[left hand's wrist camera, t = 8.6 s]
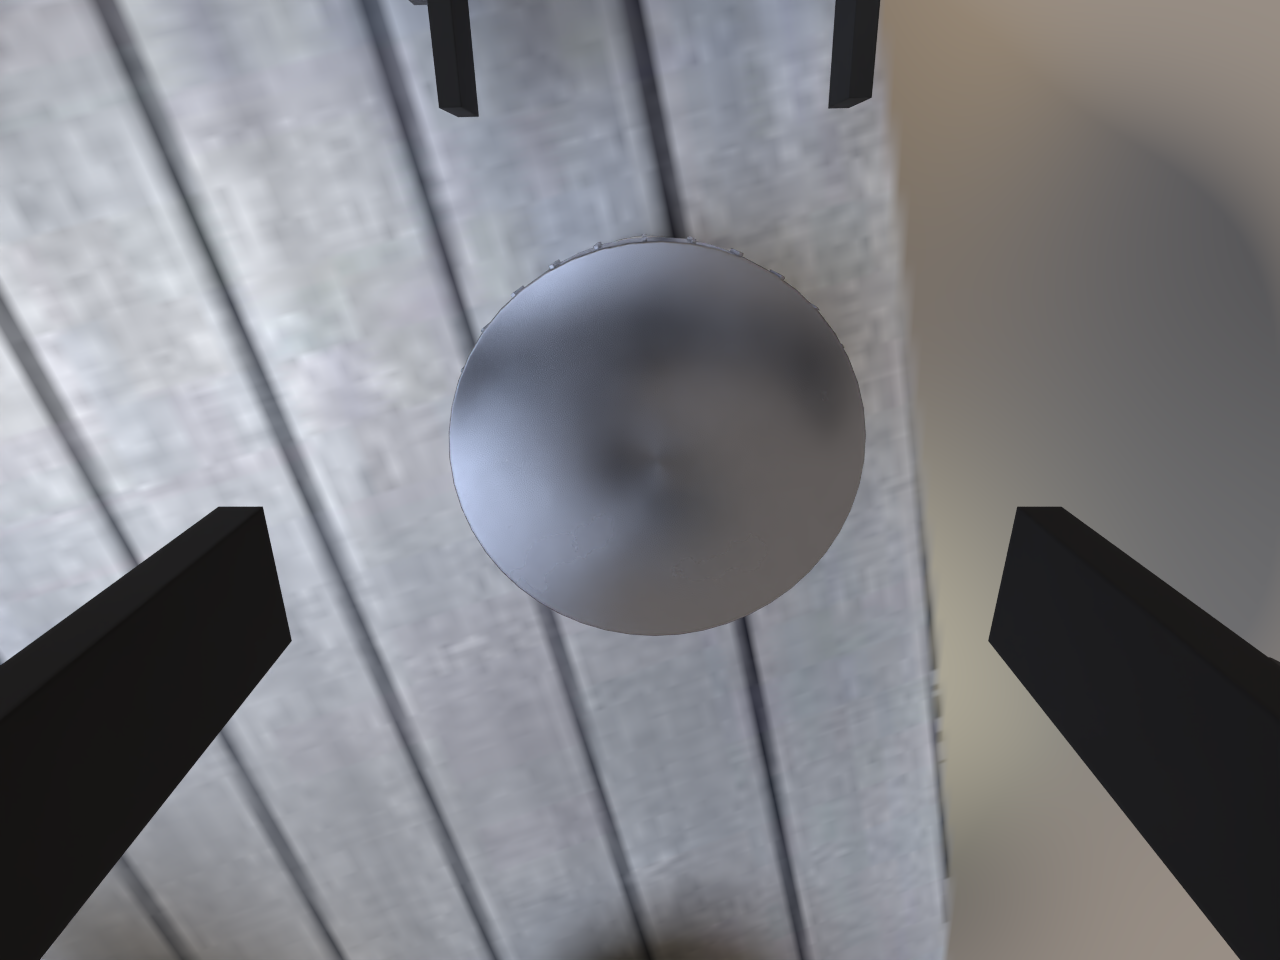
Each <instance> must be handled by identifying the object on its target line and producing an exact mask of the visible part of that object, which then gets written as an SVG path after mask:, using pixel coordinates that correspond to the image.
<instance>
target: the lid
mask: <svg viewBox="0 0 1280 960" xmlns="http://www.w3.org/2000/svg"><path fill="white" fill-rule="evenodd" d="M742 256H743V253H741V252H739V251H737V250H735V249H733V248H731V250H730V251H728V250H725V249H722V248H720V247H717V246H714V245H712V244H707V243H702V242H698V241H696V239H694V238H693V237H691V236H688V237H687V239H681V238H668V237H647V236H646V234H642V238H631V239H626V240H621V241H616V242H611V243H606V244H603V245H602V244H601V242H598V243H597V244H596V245H595V246H594V248H591V249H589V250H586V251H583V252H580V253H578V254H576V255H574V256H572V257H570V258H568V259H566V260H564V261H562V262H560V260H557V261H555V262H554V263H553V264H551V265H550V266H549V268H550V269H549V270H548V271H546V272H545V273H543V274H542V275H541V276H539V277H538V278H536V279H535V280H534V281H532V282H531V283H530V284H528V285H527V286H526V287H524V286H522V287H520V288H519V289H518V290H516V291H515V292H513V293H512V294H511V296H512V297H513V298H512V299H511V300H510V301H509V302H508V303H507V304H506V305H505V306H504V307H503V308H502V309H501V310H500V311H499V312H498V313H497V315H496V316H495V317H494V318H493V320H492V321H491V322H490V323H489V324H487V325H486V326H485V327H484V328H483V329H482V330H481V332H482V334H481V336H480V337H479V339H478V341H477V342H476V344H475V346H474V348H473V349H472V351H471V353H470V354H469V356H468V359H467V361H466V364H465V366H464V367H463V368H462V370H461V372H462V373H461V376H460V378H459V380H458V384H457V388H456V392H455V396H454V400H453V404H452V409H451V418H450V427H449V453H450V464H451V469H452V475H453V481H454V486H455V489H456V492H457V495H458V498H459V502H460V505H461V508H462V510H463V512H464V514H465V517H466V519H467V521H468V523H469V525H470V527H471V529H472V531H473V533H474V534H475V536H476V538H477V539H478V541H479V542H480V544H481V546H482V547H483V549H484V550H485V552H486V553H487V554H488V555H489V557H490V558H491V559H492V560H493V561H494V563H495V564H496V565H497V566H498V567H499V569H500V570H501V571H502V572H503V573H504V574H505V575H506V576H507V577H508V578H510V579H511V580H512V581H513V582H514V583H515V584H516V585H517V586H518V587H519V588H521V589H522V590H523V591H525V592H526V593H527V594H529V595H530V596H531V597H533V598H534V599H536V600H537V601H538V602H540V603H542V604H543V605H545V606H547V607H549V608H550V609H552V610H554V611H556V612H558V613H559V614H561V615H564V616H566V617H569V618H571V619H573V620H576V621H578V622H581V623H583V624H587V625H590V626H593V627H597V628H600V629H604V630H608V631H614V632H620V633H625V634H633V635H651V636H659V635H678V634H685V633H691V632H697V631H703V630H706V629H710V628H713V627H717V626H721V625H724V624H727V623H730V622H732V621H735V620H737V619H740V618H742V617H744V616H747V615H749V614H751V613H753V612H755V611H757V610H758V609H760V608H762V607H764V606H766V605H768V604H769V603H771V602H773V601H774V600H775V599H777V598H778V597H780V596H781V595H782V594H784V593H785V592H787V591H788V590H789V589H791V588H792V587H793V586H794V585H795V584H796V583H798V582H799V581H800V580H801V579H802V578H803V577H804V576H805V575H806V574H807V573H809V572H810V570H811V569H812V568H813V567H814V566H815V565H816V564H817V562H818V561H819V560H820V559H821V558H822V557H823V555H824V554H825V553H826V552H827V550H828V549H829V547H830V546H831V544H832V543H833V541H834V540H835V538H836V537H837V535H838V534H839V532H840V530H841V528H842V526H843V524H844V522H845V520H846V518H847V516H848V514H849V512H850V510H851V507H852V505H853V502H854V499H855V496H856V493H857V490H858V487H859V483H860V478H861V473H862V468H863V463H864V454H865V437H866V432H865V419H864V408H863V403H862V399H861V394H860V390H859V385H858V382H857V379H856V376H855V374H854V371H853V368H852V366H851V363H850V360H849V358H848V356H847V354H846V352H845V350H844V349H843V348H844V347H843V345H842V344H841V343H840V341H839V340H838V338H837V336H836V334H835V333H834V331H833V330H832V329H831V327H830V326H829V325H828V323H827V322H826V321H825V319H824V318H823V317H822V315H821V314H820V313H819V312H818V311H819V309H818V308H817V307H816V306H814V305H813V304H811V303H809V302H808V301H807V300H806V299H805V298H804V297H803V296H802V295H801V294H800V293H799V292H798V291H797V290H796V289H794V288H793V287H792V286H790V285H789V284H788V283H786V282H785V281H784V279H785V277H784V276H782V275H781V274H779V273H777V272H775V271H773V270H770V271H768V270H767V269H765V268H763V267H761V266H759V265H757V264H755V263H754V262H752V261H750V260H748V259H746V258H744V257H742Z"/></svg>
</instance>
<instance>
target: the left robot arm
mask: <svg viewBox="0 0 1280 960" xmlns="http://www.w3.org/2000/svg"><path fill="white" fill-rule="evenodd" d="M291 641H292V640H291V635H290V631H289V626H288V621H287V617H286V612H285V608H284V603H283V598H282V594H281V589H280V584H279V580H278V575H277V571H276V566H275V561H274V557H273V552H272V547H271V543H270V538H269V534H268V529H267V524H266V520H265V515H264V510H263V507H218V508H216V509H215V510H213V511H212V512H211V513H209V514H208V515H207V516H205V517H204V518H202V519H201V520H200V521H198V522H197V523H196V524H194V525H193V526H192V527H190V528H189V529H187V530H186V531H185V532H183V533H182V534H181V535H179V536H178V537H176V538H175V539H174V540H172V541H171V542H170V543H168V544H167V545H165V546H164V547H163V548H161V549H160V550H159V551H157V552H156V553H154V554H153V555H152V556H150V557H149V558H148V559H146V560H145V561H143V562H142V563H141V564H139V565H138V566H137V567H135V568H134V569H132V570H131V571H130V572H128V573H127V574H126V575H124V576H123V577H121V578H120V579H119V580H117V581H116V582H115V583H113V584H112V585H110V586H109V587H108V588H106V589H105V590H104V591H102V592H101V593H99V594H98V595H97V596H95V597H94V598H93V599H91V600H90V601H88V602H87V603H86V604H84V605H83V606H82V607H80V608H79V609H78V610H76V611H75V612H73V613H72V614H71V615H69V616H68V617H67V618H65V619H64V620H62V621H61V622H60V623H58V624H57V625H56V626H54V627H53V628H51V629H50V630H49V631H47V632H46V633H45V634H43V635H42V636H40V637H39V638H38V639H36V640H35V641H34V642H32V643H31V644H29V645H28V646H27V647H25V648H24V649H23V650H21V651H20V652H18V653H17V654H16V655H14V656H13V657H12V658H10V659H9V660H7V661H6V662H5V663H3V664H2V665H0V960H40V959H41V958H42V956H43V955H44V954H45V953H46V951H47V950H48V949H49V947H50V946H51V945H52V944H53V942H54V941H55V940H56V939H57V937H58V936H59V935H60V934H61V932H62V931H63V930H64V928H65V927H66V926H67V925H68V923H69V922H70V921H71V920H72V918H73V917H74V916H75V915H76V913H77V912H78V911H79V909H80V908H81V907H82V906H83V904H84V903H85V902H86V901H87V899H88V898H89V897H90V896H91V894H92V893H93V892H94V890H95V889H96V888H97V887H98V885H99V884H100V883H101V882H102V880H103V879H104V878H105V877H106V875H107V874H108V873H109V872H110V870H111V869H112V868H113V866H114V865H115V864H116V863H117V861H118V860H119V859H120V858H121V856H122V855H123V854H124V853H125V851H126V850H127V849H128V847H129V846H130V845H131V844H132V842H133V841H134V840H135V839H136V837H137V836H138V835H139V834H140V832H141V831H142V830H143V828H144V827H145V826H146V825H147V823H148V822H149V821H150V820H151V818H152V817H153V816H154V815H155V813H156V812H157V811H158V809H159V808H160V807H161V806H162V804H163V803H164V802H165V801H166V799H167V798H168V797H169V796H170V794H171V793H172V792H173V790H174V789H175V788H176V787H177V785H178V784H179V783H180V782H181V780H182V779H183V778H184V777H185V775H186V774H187V773H188V771H189V770H190V769H191V768H192V766H193V765H194V764H195V763H196V761H197V760H198V759H199V758H200V756H201V755H202V754H203V753H204V751H205V750H206V749H207V747H208V746H209V745H210V744H211V742H212V741H213V740H214V739H215V737H216V736H217V735H218V734H219V732H220V731H221V730H222V728H223V727H224V726H225V725H226V723H227V722H228V721H229V720H230V718H231V717H232V716H233V715H234V713H235V712H236V711H237V709H238V708H239V707H240V706H241V704H242V703H243V702H244V701H245V699H246V698H247V697H248V696H249V694H250V693H251V692H252V690H253V689H254V688H255V687H256V685H257V684H258V683H259V682H260V680H261V679H262V678H263V677H264V675H265V674H266V673H267V671H268V670H269V669H270V668H271V666H272V665H273V664H274V663H275V661H276V660H277V659H278V658H279V656H280V655H281V654H282V653H283V651H284V650H285V649H286V647H287V646H288V645H289V644H290V642H291ZM988 641H989V642H990V644H991V645H992V646H993V647H994V649H995V650H996V651H997V652H998V654H999V655H1000V656H1001V658H1002V659H1003V660H1004V661H1005V663H1006V664H1007V665H1008V666H1009V668H1010V669H1011V670H1012V671H1013V673H1014V674H1015V675H1016V677H1017V678H1018V679H1019V680H1020V682H1021V683H1022V684H1023V685H1024V687H1025V688H1026V689H1027V690H1028V692H1029V693H1030V694H1031V696H1032V697H1033V698H1034V699H1035V701H1036V702H1037V703H1038V704H1039V706H1040V707H1041V708H1042V709H1043V711H1044V712H1045V713H1046V715H1047V716H1048V717H1049V718H1050V720H1051V721H1052V722H1053V723H1054V725H1055V726H1056V727H1057V728H1058V730H1059V731H1060V732H1061V734H1062V735H1063V736H1064V737H1065V739H1066V740H1067V741H1068V742H1069V744H1070V745H1071V746H1072V747H1073V749H1074V750H1075V751H1076V753H1077V754H1078V755H1079V756H1080V758H1081V759H1082V760H1083V761H1084V763H1085V764H1086V765H1087V766H1088V768H1089V769H1090V770H1091V771H1092V773H1093V774H1094V775H1095V777H1096V778H1097V779H1098V780H1099V782H1100V783H1101V784H1102V785H1103V787H1104V788H1105V789H1106V790H1107V792H1108V793H1109V794H1110V796H1111V797H1112V798H1113V799H1114V801H1115V802H1116V803H1117V804H1118V806H1119V807H1120V808H1121V809H1122V811H1123V812H1124V813H1125V814H1126V816H1127V817H1128V818H1129V820H1130V821H1131V822H1132V823H1133V825H1134V826H1135V827H1136V828H1137V830H1138V831H1139V832H1140V834H1141V835H1142V836H1143V837H1144V839H1145V840H1146V841H1147V842H1148V844H1149V845H1150V846H1151V847H1152V849H1153V850H1154V851H1155V852H1156V854H1157V855H1158V856H1159V858H1160V859H1161V860H1162V861H1163V863H1164V864H1165V865H1166V866H1167V868H1168V869H1169V870H1170V871H1171V873H1172V874H1173V875H1174V877H1175V878H1176V879H1177V880H1178V882H1179V883H1180V884H1181V885H1182V887H1183V888H1184V889H1185V890H1186V892H1187V893H1188V894H1189V896H1190V897H1191V898H1192V899H1193V901H1194V902H1195V903H1196V904H1197V906H1198V907H1199V908H1200V909H1201V911H1202V912H1203V913H1204V914H1205V916H1206V917H1207V918H1208V920H1209V921H1210V922H1211V923H1212V925H1213V926H1214V927H1215V928H1216V930H1217V931H1218V932H1219V934H1220V935H1221V936H1222V937H1223V939H1224V940H1225V941H1226V942H1227V944H1228V945H1229V946H1230V947H1231V949H1232V950H1233V951H1234V953H1235V954H1236V955H1237V956H1238V958H1239V959H1240V960H1280V662H1279V661H1277V660H1274V659H1272V658H1270V657H1267V656H1266V655H1264V654H1263V653H1262V652H1260V651H1259V650H1257V649H1256V648H1255V647H1253V646H1252V645H1251V644H1249V643H1248V642H1246V641H1245V640H1244V639H1242V638H1241V637H1239V636H1238V635H1237V634H1235V633H1234V632H1233V631H1231V630H1230V629H1229V628H1227V627H1226V626H1224V625H1223V624H1222V623H1220V622H1219V621H1218V620H1216V619H1215V618H1213V617H1212V616H1211V615H1209V614H1208V613H1207V612H1205V611H1204V610H1202V609H1201V608H1200V607H1198V606H1197V605H1196V604H1194V603H1193V602H1191V601H1190V600H1189V599H1187V598H1186V597H1185V596H1183V595H1182V594H1181V593H1179V592H1178V591H1176V590H1175V589H1174V588H1172V587H1171V586H1170V585H1168V584H1167V583H1165V582H1164V581H1163V580H1161V579H1160V578H1159V577H1157V576H1156V575H1154V574H1153V573H1152V572H1150V571H1149V570H1148V569H1146V568H1145V567H1143V566H1142V565H1141V564H1139V563H1138V562H1137V561H1135V560H1134V559H1132V558H1131V557H1130V556H1128V555H1127V554H1126V553H1124V552H1123V551H1121V550H1120V549H1119V548H1117V547H1116V546H1115V545H1113V544H1112V543H1110V542H1109V541H1108V540H1106V539H1105V538H1104V537H1102V536H1101V535H1099V534H1098V533H1097V532H1095V531H1094V530H1093V529H1091V528H1090V527H1088V526H1087V525H1086V524H1084V523H1083V522H1082V521H1080V520H1079V519H1078V518H1076V517H1075V516H1073V515H1072V514H1071V513H1069V512H1068V511H1066V510H1065V509H1064V508H1062V507H1017V511H1016V515H1015V520H1014V524H1013V529H1012V534H1011V538H1010V543H1009V547H1008V552H1007V557H1006V561H1005V566H1004V571H1003V575H1002V580H1001V585H1000V589H999V594H998V598H997V603H996V608H995V612H994V617H993V621H992V626H991V631H990V635H989V640H988Z"/></svg>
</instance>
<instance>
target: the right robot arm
mask: <svg viewBox="0 0 1280 960" xmlns="http://www.w3.org/2000/svg"><path fill="white" fill-rule="evenodd" d="M409 1H410V2H412V3H413V4H414V5H428V13H429V21H430V30H431V39H432V48H433V57H434V66H435V75H436V84H437V93H438V102H439V108H441V109H443V110H445V111H447V112H449V113H451V114H453V115H455V116H457V117H479V114H478V104H477V93H476V82H475V72H474V61H473V51H472V40H471V29H470V19H469V8H468V0H409ZM879 8H880V0H836V4H835V18H834V33H833V48H832V62H831V77H830V92H829V106H828V108H850V107H852V106H854V105H856V104H859V103H861V102H863V101H865V100H868V99H870V98H872V88H873V76H874V65H875V53H876V42H877V31H878V19H879Z"/></svg>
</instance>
